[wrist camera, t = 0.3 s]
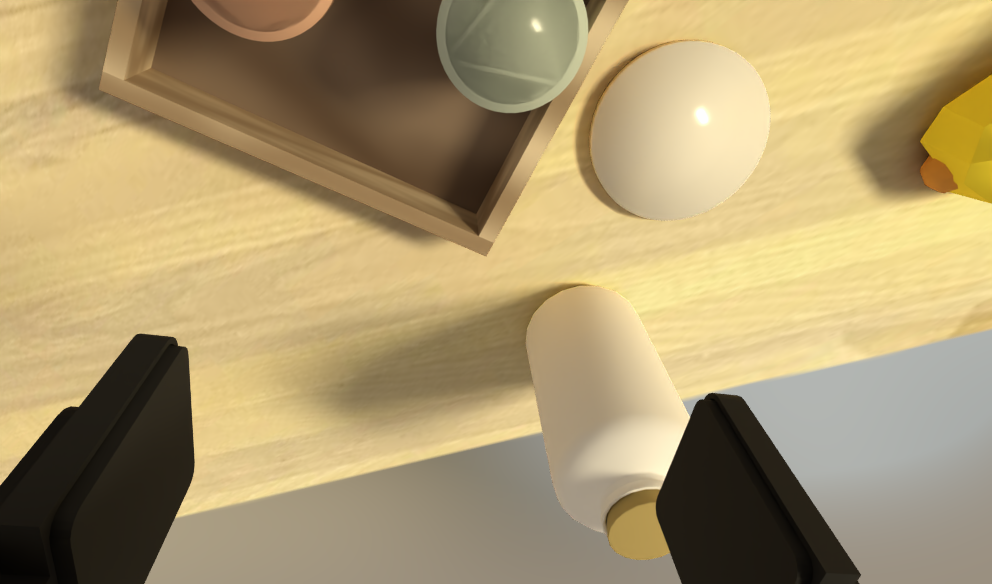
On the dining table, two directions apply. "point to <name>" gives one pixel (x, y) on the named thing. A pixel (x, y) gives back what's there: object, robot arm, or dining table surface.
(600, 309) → the potion bottle
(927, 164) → the low-poly banana
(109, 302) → the dining table surface
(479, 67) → the sage pot
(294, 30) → the terracotta pot
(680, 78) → the cream domed disc
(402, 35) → the wooden tray
